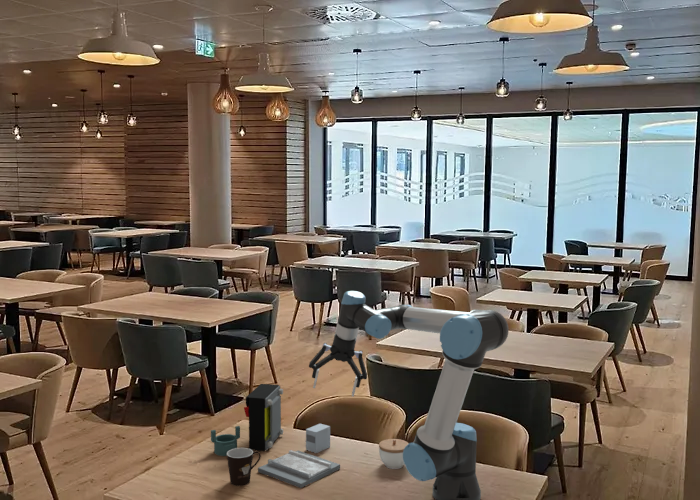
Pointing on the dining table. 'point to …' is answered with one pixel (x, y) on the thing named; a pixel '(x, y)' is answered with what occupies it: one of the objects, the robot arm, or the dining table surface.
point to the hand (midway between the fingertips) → (333, 390)
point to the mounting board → (294, 478)
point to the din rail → (300, 464)
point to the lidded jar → (392, 452)
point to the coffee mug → (240, 465)
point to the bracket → (225, 441)
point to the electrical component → (264, 416)
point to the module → (318, 438)
